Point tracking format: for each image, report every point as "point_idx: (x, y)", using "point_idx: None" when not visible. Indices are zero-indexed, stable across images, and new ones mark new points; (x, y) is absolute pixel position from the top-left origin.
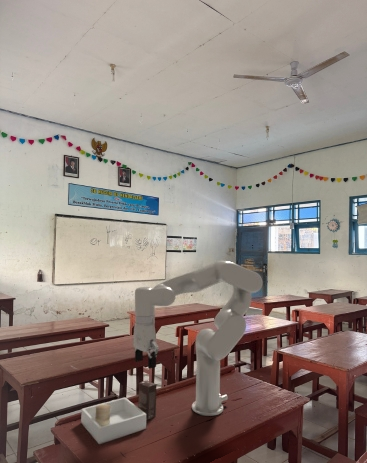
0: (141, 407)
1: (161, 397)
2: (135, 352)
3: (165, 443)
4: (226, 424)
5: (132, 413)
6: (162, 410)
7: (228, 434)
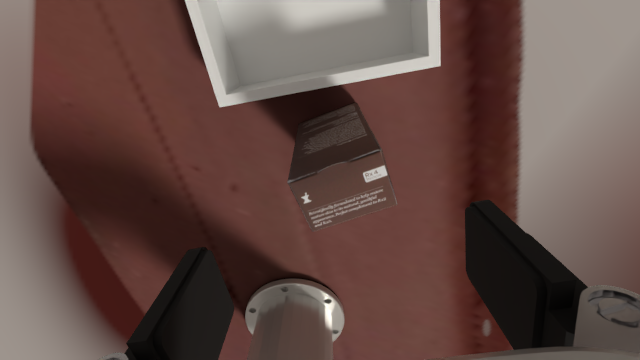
0: (336, 119)
1: (444, 231)
2: (549, 271)
3: (121, 124)
4: None
5: (330, 70)
6: None
7: (141, 295)
